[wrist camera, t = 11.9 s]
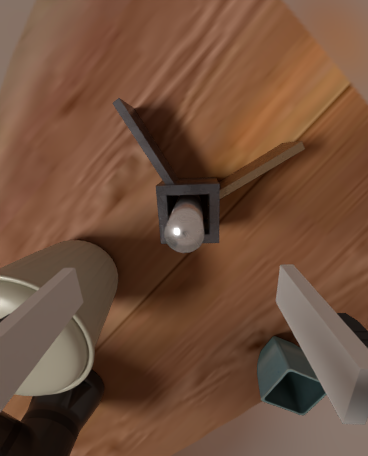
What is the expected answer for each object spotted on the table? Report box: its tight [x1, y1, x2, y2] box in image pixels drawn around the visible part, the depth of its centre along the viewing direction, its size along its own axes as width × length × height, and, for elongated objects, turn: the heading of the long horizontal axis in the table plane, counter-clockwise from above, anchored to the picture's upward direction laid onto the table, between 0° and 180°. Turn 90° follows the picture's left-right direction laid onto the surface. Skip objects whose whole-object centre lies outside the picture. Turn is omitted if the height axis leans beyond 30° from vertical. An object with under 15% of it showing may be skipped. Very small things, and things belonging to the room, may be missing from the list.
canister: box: [0, 240, 118, 396], centre depth 30 cm, size 18×18×21 cm
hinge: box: [113, 98, 305, 244], centre depth 29 cm, size 22×18×7 cm
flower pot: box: [257, 336, 327, 415], centre depth 39 cm, size 9×9×9 cm
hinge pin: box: [164, 194, 204, 253], centre depth 27 cm, size 4×4×14 cm
